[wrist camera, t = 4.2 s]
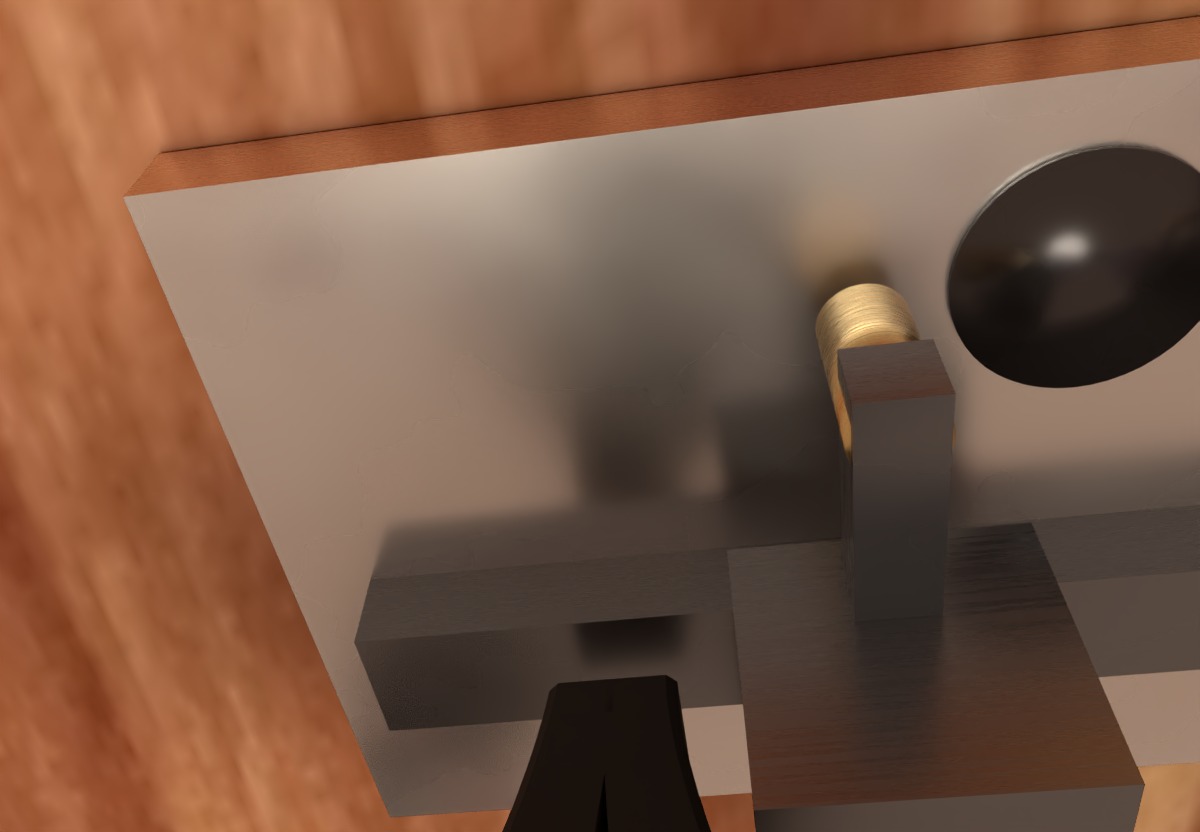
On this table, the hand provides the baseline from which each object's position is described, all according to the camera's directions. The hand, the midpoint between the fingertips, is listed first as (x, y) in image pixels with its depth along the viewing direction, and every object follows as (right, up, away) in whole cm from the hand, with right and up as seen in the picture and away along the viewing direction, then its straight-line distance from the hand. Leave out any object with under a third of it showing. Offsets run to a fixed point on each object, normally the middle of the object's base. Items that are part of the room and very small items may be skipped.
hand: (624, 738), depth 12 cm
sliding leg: (+3, +2, 0) cm, 3 cm away
